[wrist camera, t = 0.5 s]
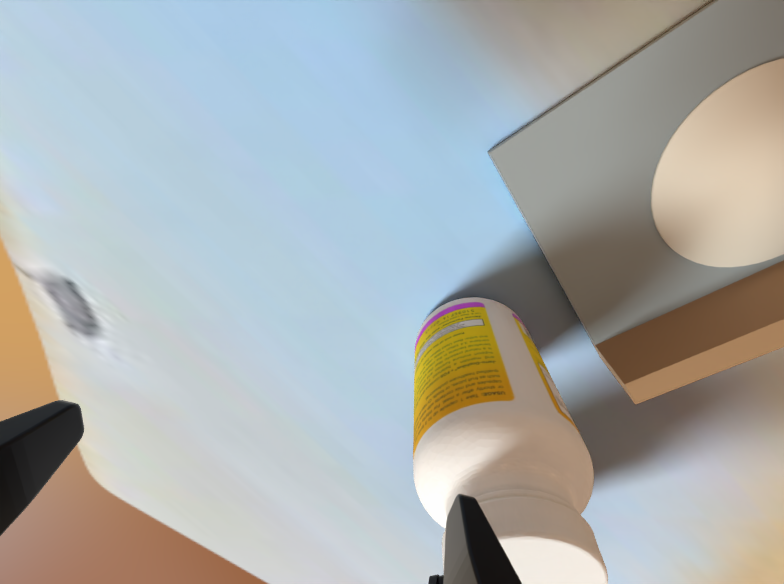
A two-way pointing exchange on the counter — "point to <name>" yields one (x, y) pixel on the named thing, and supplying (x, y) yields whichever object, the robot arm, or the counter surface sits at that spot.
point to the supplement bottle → (502, 441)
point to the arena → (668, 198)
